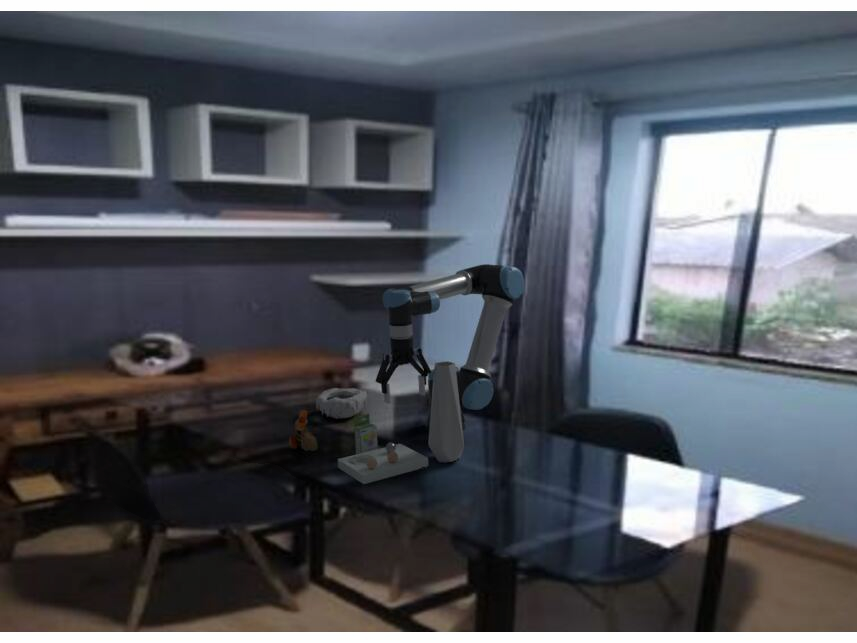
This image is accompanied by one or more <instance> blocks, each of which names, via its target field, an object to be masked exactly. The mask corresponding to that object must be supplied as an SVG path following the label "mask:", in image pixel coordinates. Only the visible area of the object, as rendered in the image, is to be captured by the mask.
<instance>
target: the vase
mask: <svg viewBox="0 0 857 643" xmlns="http://www.w3.org/2000/svg"><path fill="white" fill-rule="evenodd" d="M456 367H457V366H456V363H455V362H453V361H452V362H451V361H448V360H447V361H438V362H434V367H433V369H434V378H433V390H432V402H431V415H430V427H429V431H428V447H429V448H430V450H431V452H432V454H433V455H434V457H435V459H436V460H437V462H438V461H439V463H447V462H451V461H455V460H456V461H458V460H459V459H460V458H461V457H462V454H463V451H464V448H465V442H464V440H465V439H464V432H463V431H464V429H463V430H462V421H461V412H460V408H461V406H460V403H459V394H458V385H457V376H456ZM458 458H459V459H458ZM457 459H458V460H457ZM444 461H445V462H444ZM456 461H455V462H456Z"/></svg>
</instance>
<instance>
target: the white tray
mask: <svg viewBox="0 0 857 643" xmlns="http://www.w3.org/2000/svg"><path fill="white" fill-rule="evenodd" d="M395 445H396V450H395V452H396V453H397V455H398V459H397V461H396V462H390V461H388V459H387V455H388V453H389V452H387V451H386V446H385V447H382V448H381V447H380V448H378V449H376V450H372V451H368V452H364V453H360V454H356V453H355V454H353V455H352V454H351V455H350V456H345V457H342V458H337V468H338V469H340V471H342V472H344V473H345V474H347V475H349V476H350V477H352V478H353V479H355V480H356V481H358V482H360V483H361V484H362V485H366V484H370V483H373V482H377V481H380V480H384V479H388V478H392V477H395V476H399V475H403V474H405V473H410V472H414V471H417V470H420V468H421V469H423V468H422V467H425V468H427V466H428V467H429V457H428V456H425V455H423V454H422V453H420V452H417V451H415V449H414V450H413V449H411V448H410V447H408V446H406V445H404V444H402V443H398V444H397V443H395ZM371 457H372V458H375V459H376V460H377V465H376V467H375V468H373V469H370V468H368V467H367V465H366V461H367V459H368V458H371Z"/></svg>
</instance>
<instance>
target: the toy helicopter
mask: <svg viewBox="0 0 857 643" xmlns="http://www.w3.org/2000/svg"><path fill="white" fill-rule="evenodd" d="M308 414H309V413H308V410H305V409H302V410H300V411H299V415H298V418H297V420H295V421H294V430H295V435H291V436H289V437H288V444H290V445H291V447H292V448H296V449H297V448H298V444H299V446H300V448H302V450H303V449H304V450H310V451H312V452H314V451H317V450H318V447H319V446H318V441H317V438H316V436H314V434H313V433H312V432H311V431H310V432H309V431H308V428H307V425H308V419H307V418H308ZM290 445H289V446H290Z"/></svg>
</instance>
